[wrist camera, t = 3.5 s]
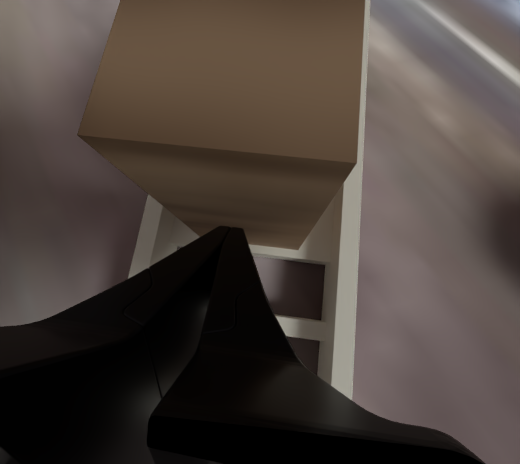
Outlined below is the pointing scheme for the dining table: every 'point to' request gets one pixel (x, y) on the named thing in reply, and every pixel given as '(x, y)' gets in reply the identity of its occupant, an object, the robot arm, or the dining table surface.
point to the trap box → (297, 259)
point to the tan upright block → (232, 109)
